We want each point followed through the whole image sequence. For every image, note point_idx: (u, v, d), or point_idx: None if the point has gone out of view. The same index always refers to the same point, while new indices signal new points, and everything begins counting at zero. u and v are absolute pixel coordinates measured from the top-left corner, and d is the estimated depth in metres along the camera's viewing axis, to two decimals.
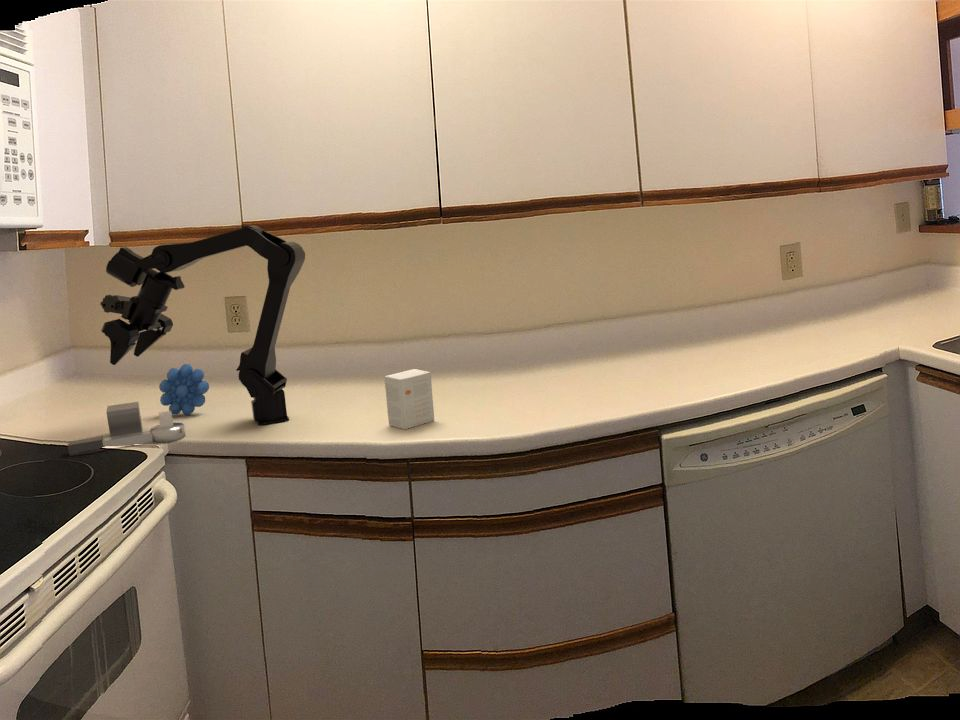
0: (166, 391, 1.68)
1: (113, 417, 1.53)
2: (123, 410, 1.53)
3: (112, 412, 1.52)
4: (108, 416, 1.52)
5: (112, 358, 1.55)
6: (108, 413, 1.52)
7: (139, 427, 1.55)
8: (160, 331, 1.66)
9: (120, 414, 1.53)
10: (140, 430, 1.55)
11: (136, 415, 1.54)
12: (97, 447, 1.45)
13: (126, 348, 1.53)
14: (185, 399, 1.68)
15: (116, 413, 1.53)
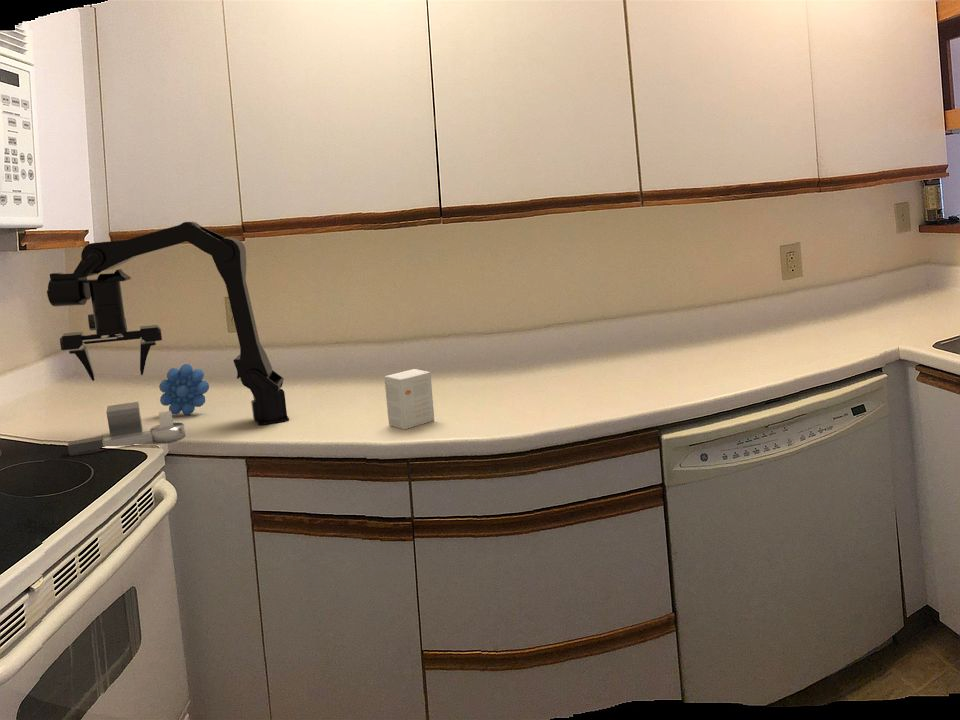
0: (166, 391, 1.68)
1: (113, 417, 1.53)
2: (123, 410, 1.53)
3: (112, 412, 1.52)
4: (108, 416, 1.52)
5: None
6: (108, 413, 1.52)
7: (139, 427, 1.55)
8: (151, 342, 1.55)
9: (120, 414, 1.53)
10: (140, 430, 1.55)
11: (136, 415, 1.54)
12: (97, 447, 1.45)
13: None
14: (185, 399, 1.68)
15: (116, 413, 1.53)
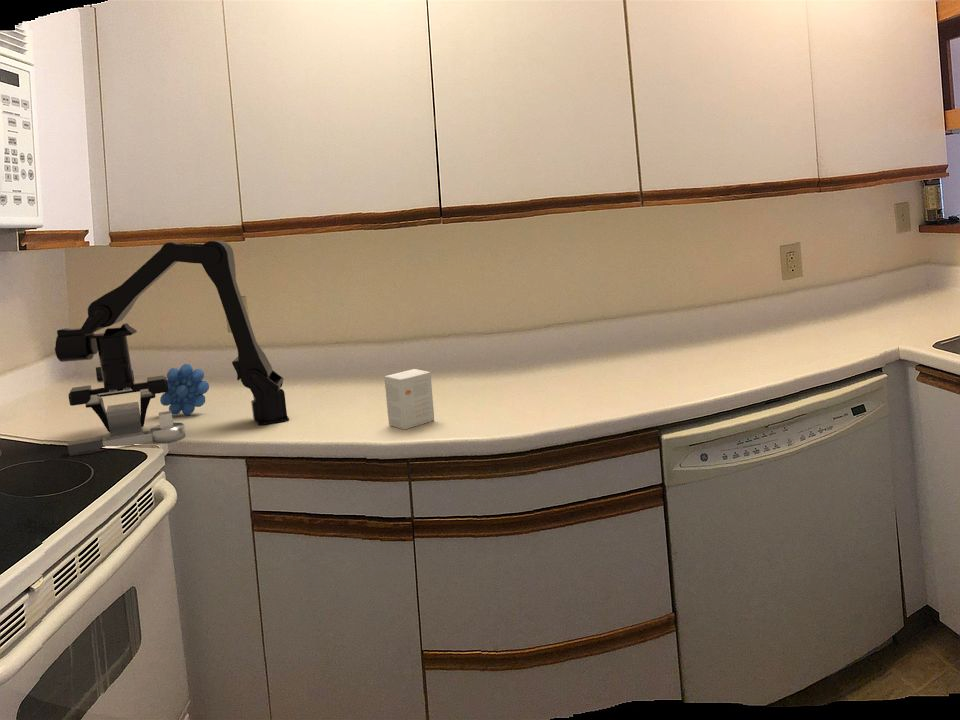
0: None
1: (113, 417, 1.53)
2: (123, 410, 1.53)
3: (112, 412, 1.52)
4: (108, 416, 1.52)
5: None
6: (108, 413, 1.52)
7: (139, 427, 1.55)
8: (151, 394, 1.56)
9: (120, 414, 1.53)
10: (140, 430, 1.55)
11: (136, 415, 1.54)
12: (97, 447, 1.45)
13: None
14: (185, 399, 1.68)
15: (116, 413, 1.53)
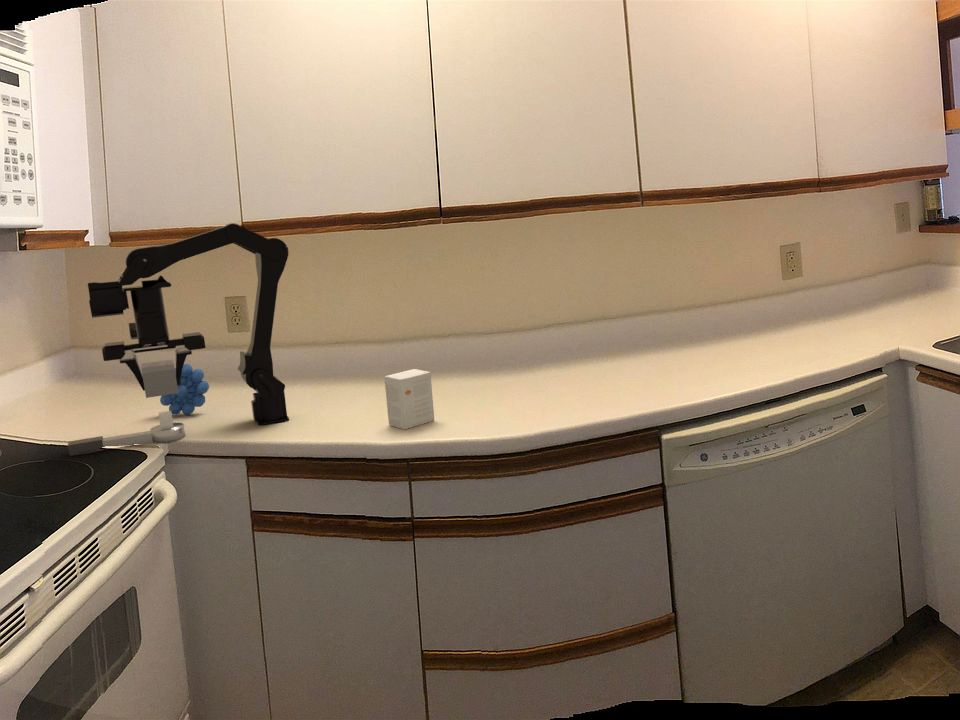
0: None
1: (148, 374, 1.45)
2: (159, 367, 1.46)
3: (147, 368, 1.45)
4: (143, 373, 1.45)
5: None
6: (143, 369, 1.45)
7: (175, 385, 1.48)
8: (187, 351, 1.49)
9: (155, 371, 1.46)
10: (176, 388, 1.48)
11: (172, 372, 1.47)
12: (97, 447, 1.45)
13: None
14: (185, 399, 1.68)
15: (151, 370, 1.45)
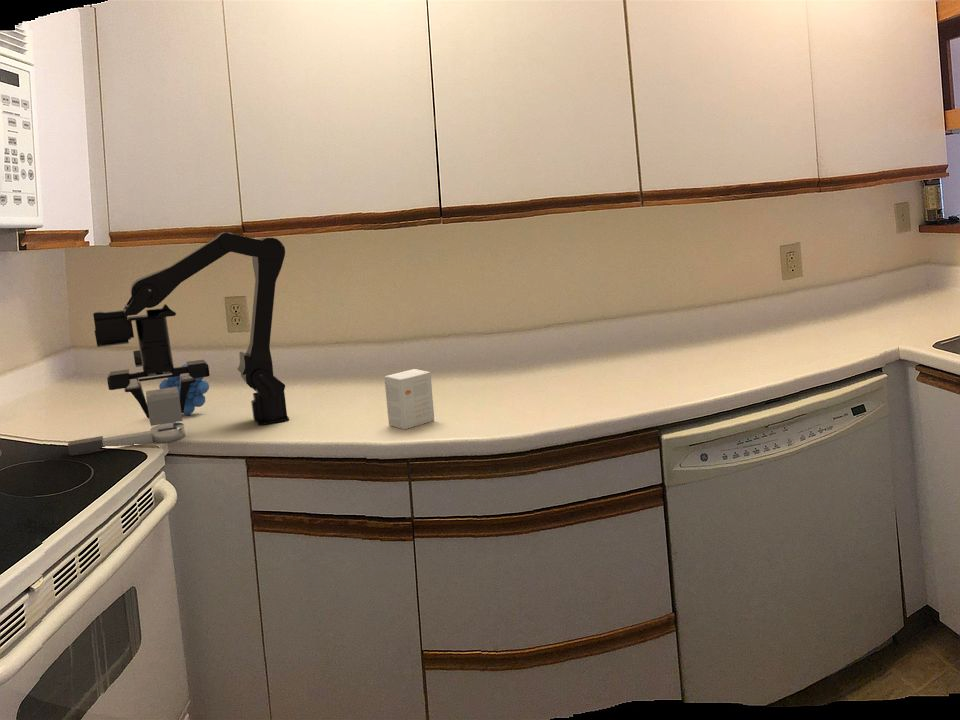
0: None
1: (153, 402, 1.47)
2: (163, 395, 1.47)
3: (152, 397, 1.46)
4: (148, 401, 1.46)
5: None
6: (148, 398, 1.46)
7: (179, 413, 1.49)
8: (191, 379, 1.50)
9: (160, 399, 1.47)
10: (180, 416, 1.49)
11: (177, 400, 1.48)
12: (97, 447, 1.45)
13: None
14: None
15: (156, 398, 1.47)
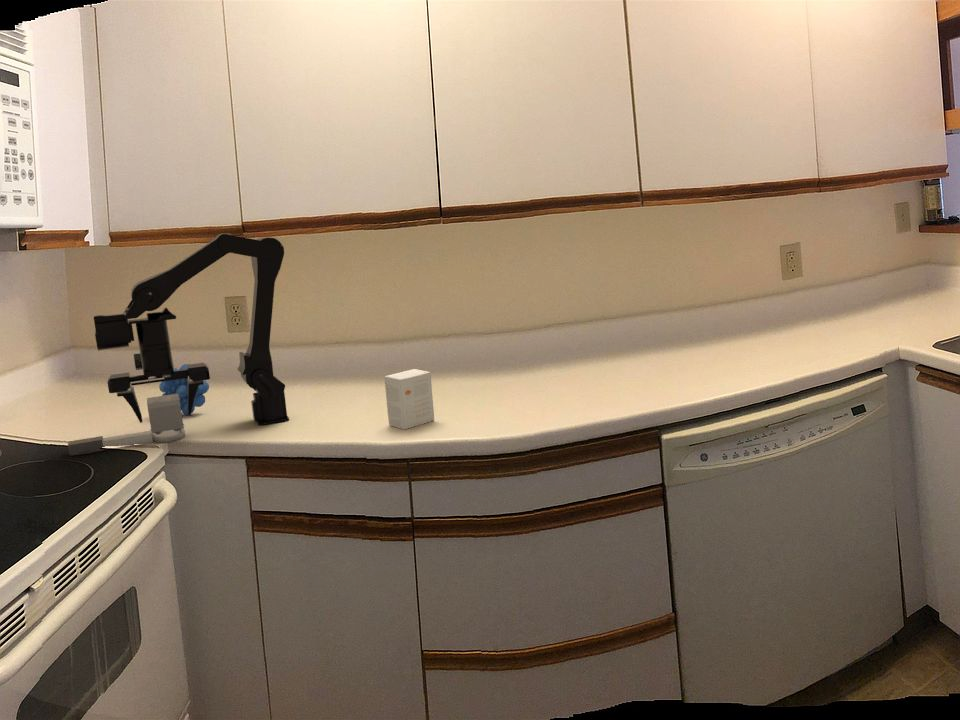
0: (166, 391, 1.68)
1: (154, 409, 1.47)
2: (164, 402, 1.47)
3: (153, 404, 1.47)
4: (149, 408, 1.46)
5: None
6: (149, 405, 1.46)
7: (180, 420, 1.49)
8: (199, 381, 1.51)
9: (161, 406, 1.47)
10: (181, 423, 1.49)
11: (178, 407, 1.49)
12: (97, 447, 1.45)
13: None
14: (185, 399, 1.68)
15: (157, 405, 1.47)
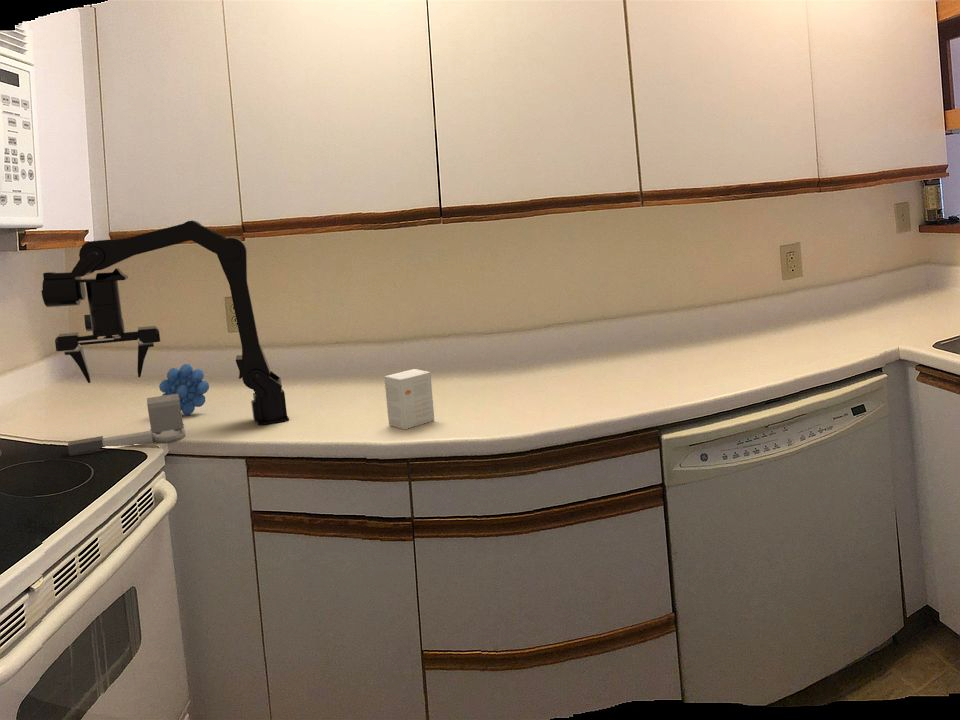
0: (166, 391, 1.68)
1: (154, 409, 1.47)
2: (164, 402, 1.47)
3: (153, 404, 1.47)
4: (149, 408, 1.46)
5: None
6: (149, 405, 1.46)
7: (180, 420, 1.49)
8: (149, 343, 1.51)
9: (161, 406, 1.47)
10: (181, 423, 1.49)
11: (178, 407, 1.49)
12: (97, 447, 1.45)
13: None
14: (185, 399, 1.68)
15: (157, 405, 1.47)
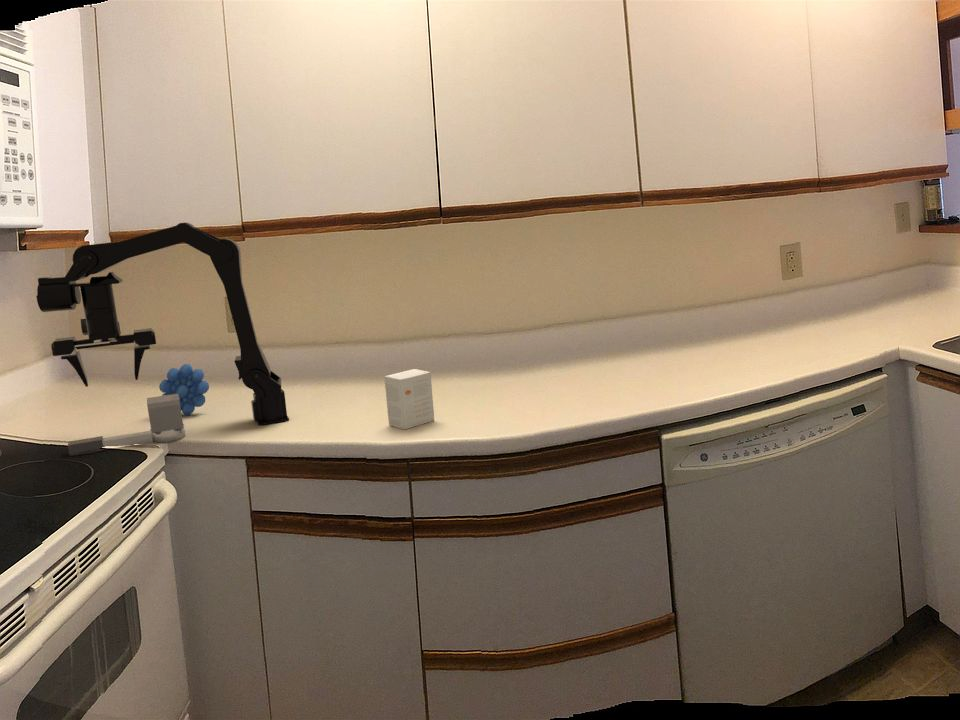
0: (166, 391, 1.68)
1: (154, 409, 1.47)
2: (164, 402, 1.47)
3: (153, 404, 1.47)
4: (149, 408, 1.46)
5: None
6: (149, 405, 1.46)
7: (180, 420, 1.49)
8: (145, 346, 1.51)
9: (161, 406, 1.47)
10: (181, 423, 1.49)
11: (178, 407, 1.49)
12: (97, 447, 1.45)
13: None
14: (185, 399, 1.68)
15: (157, 405, 1.47)
